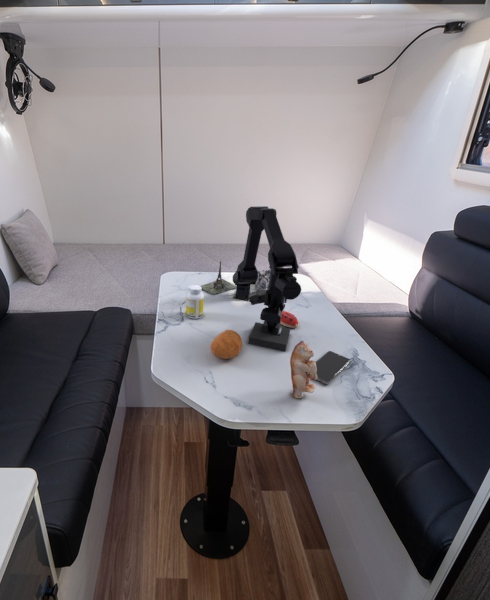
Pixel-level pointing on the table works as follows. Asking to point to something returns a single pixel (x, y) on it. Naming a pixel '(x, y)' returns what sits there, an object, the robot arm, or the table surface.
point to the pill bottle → (194, 302)
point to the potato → (227, 344)
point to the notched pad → (269, 338)
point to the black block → (274, 332)
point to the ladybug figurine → (289, 320)
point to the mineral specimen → (263, 279)
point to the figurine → (302, 370)
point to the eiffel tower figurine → (218, 285)
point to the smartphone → (330, 366)
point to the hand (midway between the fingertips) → (271, 328)
